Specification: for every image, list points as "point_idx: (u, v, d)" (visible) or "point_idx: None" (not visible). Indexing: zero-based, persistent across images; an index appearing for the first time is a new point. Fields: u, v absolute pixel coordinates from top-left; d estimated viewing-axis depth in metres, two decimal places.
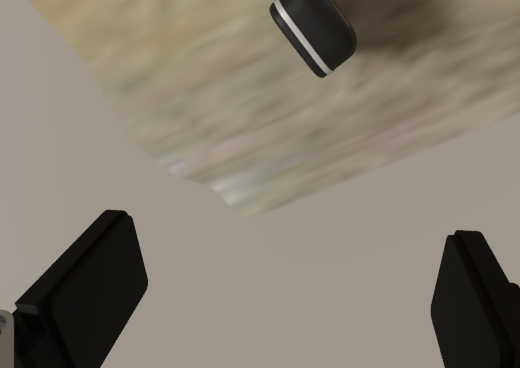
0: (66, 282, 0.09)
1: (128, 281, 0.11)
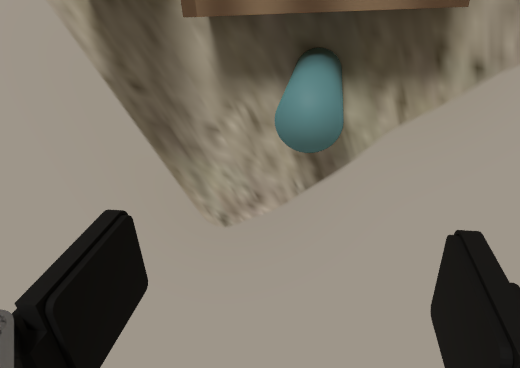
0: (66, 282, 0.09)
1: (128, 281, 0.11)
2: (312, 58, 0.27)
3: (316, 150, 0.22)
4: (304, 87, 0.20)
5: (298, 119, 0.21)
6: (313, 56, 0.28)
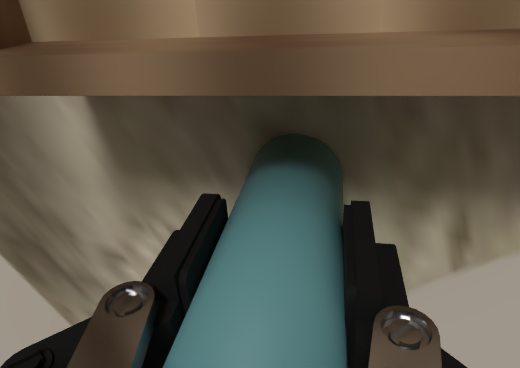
0: (191, 257, 0.09)
1: None
2: (274, 184, 0.12)
3: None
4: None
5: None
6: (278, 174, 0.12)
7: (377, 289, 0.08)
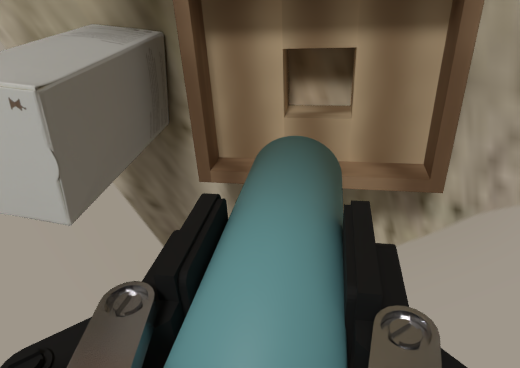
0: (191, 257, 0.09)
1: None
2: (274, 186, 0.12)
3: None
4: None
5: None
6: (278, 175, 0.12)
7: (377, 289, 0.08)
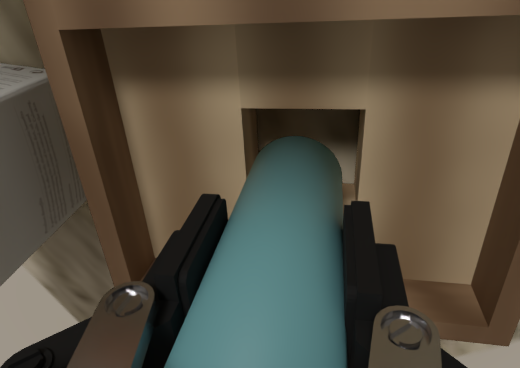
0: (191, 257, 0.09)
1: None
2: (274, 186, 0.12)
3: None
4: None
5: None
6: (278, 175, 0.12)
7: (377, 289, 0.08)
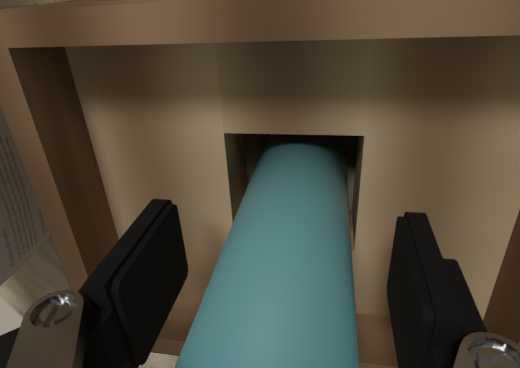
0: (127, 265, 0.09)
1: (173, 267, 0.12)
2: (286, 163, 0.13)
3: None
4: None
5: None
6: (289, 155, 0.13)
7: (459, 313, 0.07)
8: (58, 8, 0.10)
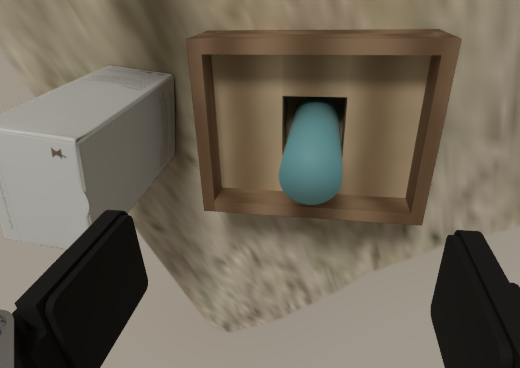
0: (66, 282, 0.09)
1: (128, 281, 0.11)
2: (312, 108, 0.29)
3: (316, 203, 0.23)
4: (307, 147, 0.22)
5: (300, 175, 0.23)
6: (313, 105, 0.29)
7: None
8: (228, 39, 0.26)
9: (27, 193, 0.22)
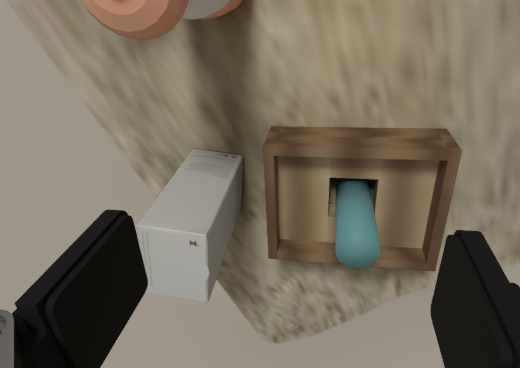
0: (66, 282, 0.09)
1: (128, 281, 0.11)
2: (352, 188, 0.39)
3: (361, 267, 0.34)
4: (356, 233, 0.32)
5: (351, 250, 0.33)
6: (352, 185, 0.40)
7: None
8: (293, 147, 0.36)
9: (167, 265, 0.33)
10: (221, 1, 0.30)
